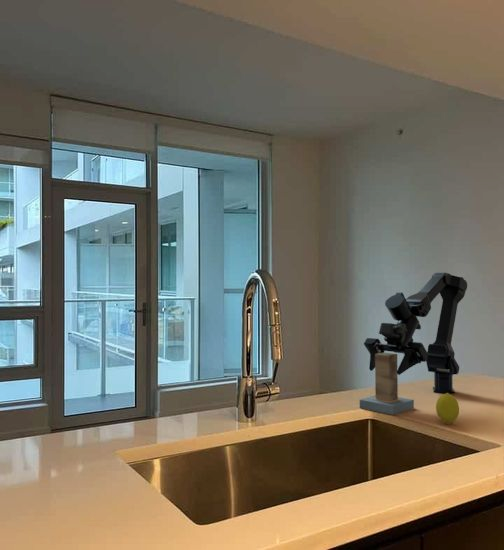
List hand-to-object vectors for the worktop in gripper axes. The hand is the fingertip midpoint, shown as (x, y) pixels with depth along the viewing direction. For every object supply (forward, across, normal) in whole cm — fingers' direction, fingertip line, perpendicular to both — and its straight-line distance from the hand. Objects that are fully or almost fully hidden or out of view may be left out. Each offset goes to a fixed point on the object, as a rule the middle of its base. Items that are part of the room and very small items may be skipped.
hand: (383, 371), depth 149 cm
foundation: (+7, 0, +8) cm, 11 cm away
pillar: (+5, 0, +6) cm, 8 cm away
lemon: (+9, +20, +6) cm, 23 cm away
